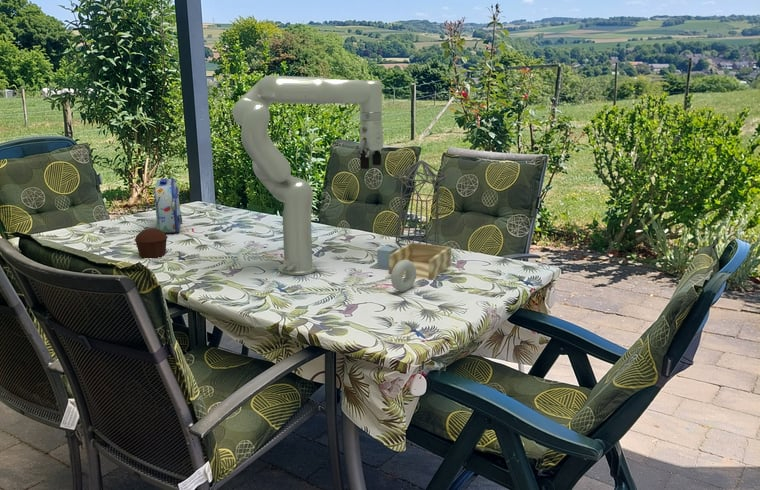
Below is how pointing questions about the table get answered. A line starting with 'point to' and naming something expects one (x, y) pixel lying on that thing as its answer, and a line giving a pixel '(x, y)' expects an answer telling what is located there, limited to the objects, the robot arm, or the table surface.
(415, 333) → the table surface
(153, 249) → the muffin
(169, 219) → the lunch box
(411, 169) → the geometric lantern
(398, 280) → the donut
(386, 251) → the block
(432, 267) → the box
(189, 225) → the table surface
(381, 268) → the coaster
